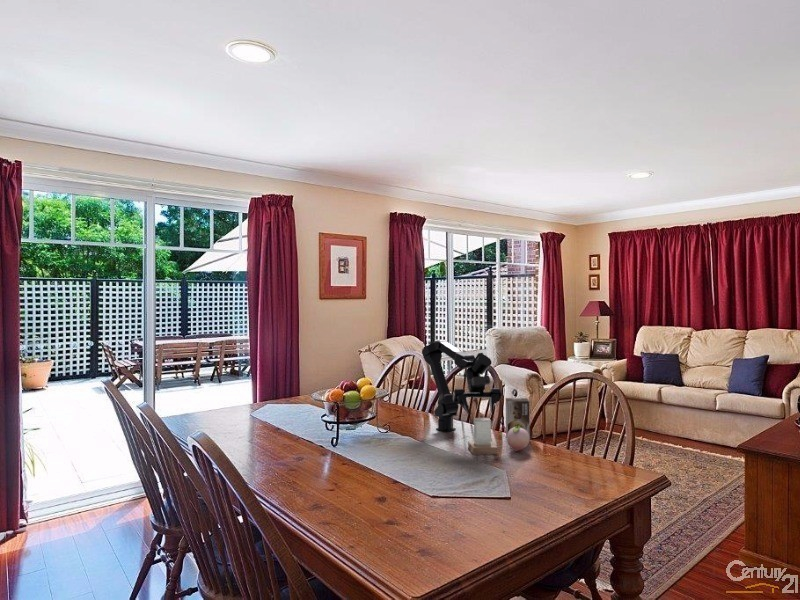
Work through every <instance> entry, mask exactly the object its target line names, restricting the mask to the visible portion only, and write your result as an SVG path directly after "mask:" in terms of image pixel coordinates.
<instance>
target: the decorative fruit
mask: <svg viewBox="0 0 800 600" xmlns="http://www.w3.org/2000/svg"><path fill="white" fill-rule="evenodd" d="M506 439H507V444H508V445H509V446H510V448H511V449H513V450H514V451H516V452H519V451H522V450H523V449H525V448H526V447H527V446H528V445H529V443H530V440H529V434H528V432H527V431H526V430H525V429H523V428H521V427H520V426H518V425H517V426H515V427H514V428H511V429H510V430H509V431H508V434H507V437H506Z"/></svg>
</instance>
